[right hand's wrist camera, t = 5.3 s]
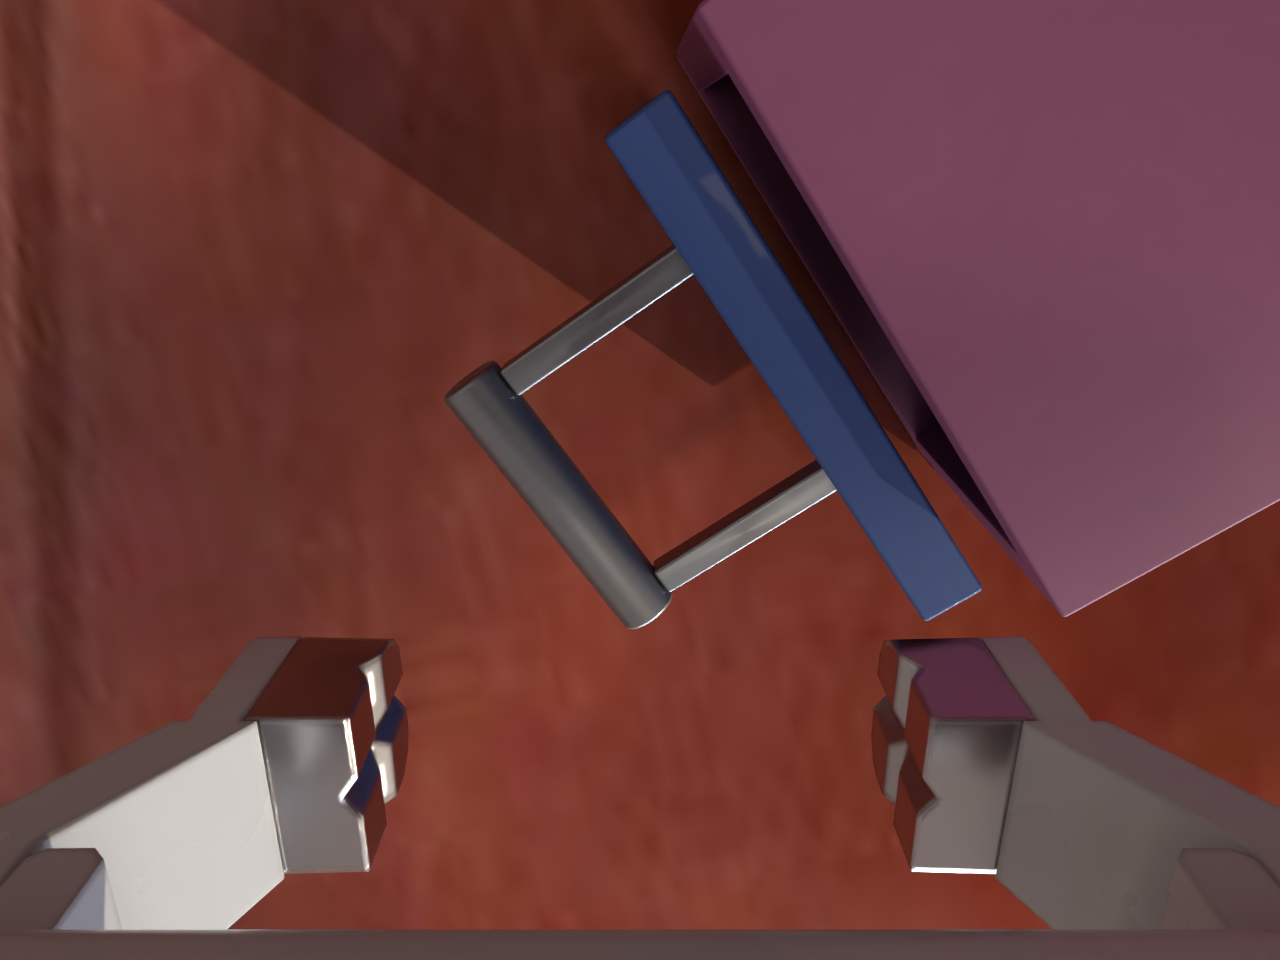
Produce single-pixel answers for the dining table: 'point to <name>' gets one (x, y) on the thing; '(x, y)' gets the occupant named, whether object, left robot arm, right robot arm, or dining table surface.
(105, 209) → the dining table surface
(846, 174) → the cabinet
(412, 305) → the dining table surface
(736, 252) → the drawer
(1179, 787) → the right robot arm
